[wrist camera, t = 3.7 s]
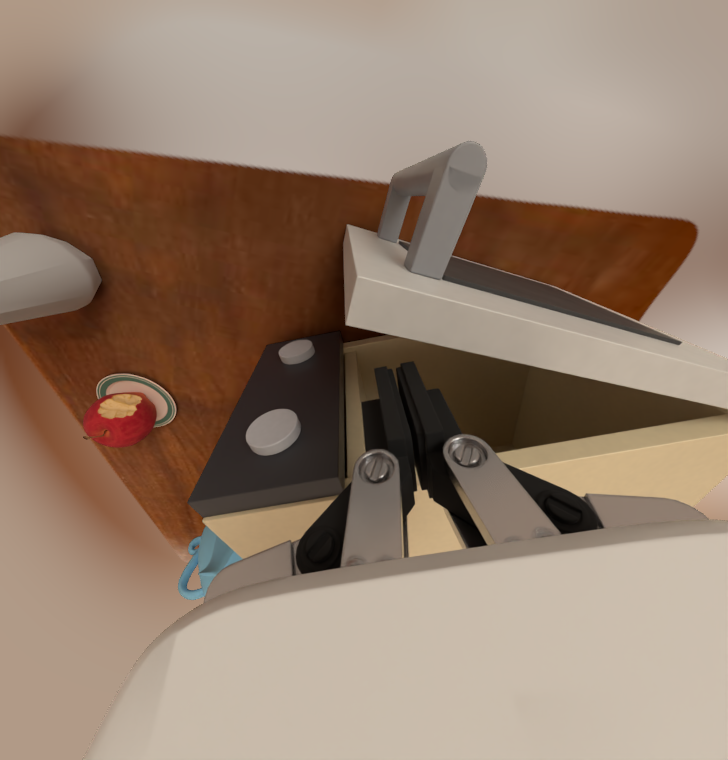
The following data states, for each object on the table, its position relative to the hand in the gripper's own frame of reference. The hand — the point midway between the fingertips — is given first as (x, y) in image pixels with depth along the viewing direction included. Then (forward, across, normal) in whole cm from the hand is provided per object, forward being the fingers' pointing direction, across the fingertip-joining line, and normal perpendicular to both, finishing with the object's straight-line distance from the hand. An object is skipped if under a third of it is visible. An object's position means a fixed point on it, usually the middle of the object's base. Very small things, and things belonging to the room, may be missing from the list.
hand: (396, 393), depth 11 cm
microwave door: (+17, -10, -2) cm, 20 cm away
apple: (+17, +29, +8) cm, 34 cm away
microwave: (+17, -3, +15) cm, 23 cm away
